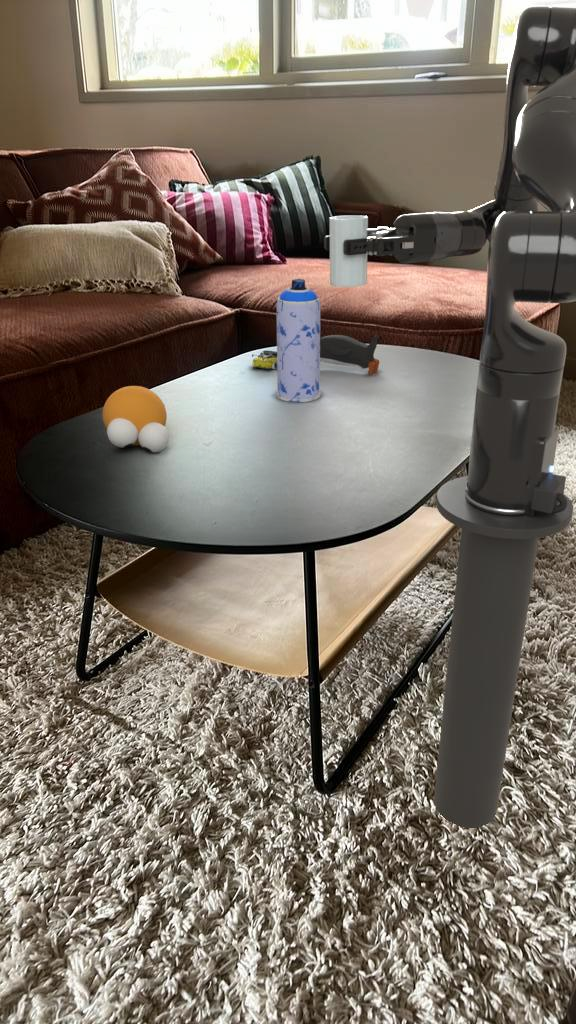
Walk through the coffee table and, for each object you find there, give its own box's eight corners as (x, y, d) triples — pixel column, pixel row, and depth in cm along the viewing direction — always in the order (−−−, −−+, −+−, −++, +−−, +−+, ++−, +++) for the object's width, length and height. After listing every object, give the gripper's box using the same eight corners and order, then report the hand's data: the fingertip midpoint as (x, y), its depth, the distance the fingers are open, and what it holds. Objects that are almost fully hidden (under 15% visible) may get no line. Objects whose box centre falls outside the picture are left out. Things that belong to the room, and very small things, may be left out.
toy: (94, 448, 120) (109, 452, 106) (95, 386, 119) (109, 382, 105) (153, 449, 124) (175, 453, 110) (154, 389, 122) (176, 385, 109)
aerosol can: (294, 386, 141) (293, 274, 132) (329, 393, 137) (331, 278, 128) (267, 396, 135) (265, 280, 127) (303, 404, 131) (303, 285, 122)
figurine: (379, 381, 153) (313, 358, 158) (390, 332, 148) (322, 311, 153) (364, 390, 147) (296, 367, 152) (374, 340, 142) (304, 318, 147)
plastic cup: (374, 284, 121) (375, 216, 117) (344, 288, 118) (344, 219, 114) (352, 279, 125) (352, 214, 121) (323, 283, 123) (322, 217, 118)
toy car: (292, 359, 158) (292, 345, 157) (271, 371, 150) (271, 356, 149) (270, 357, 160) (270, 343, 159) (248, 369, 152) (248, 354, 151)
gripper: (403, 209, 129) (313, 216, 123) (453, 215, 117) (357, 223, 111) (401, 256, 132) (314, 265, 126) (450, 266, 120) (356, 276, 114)
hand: (335, 245), depth 118 cm, fingers closed on plastic cup, 6 cm apart
